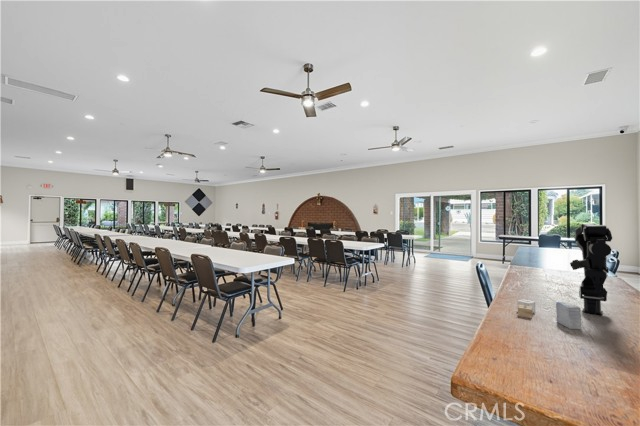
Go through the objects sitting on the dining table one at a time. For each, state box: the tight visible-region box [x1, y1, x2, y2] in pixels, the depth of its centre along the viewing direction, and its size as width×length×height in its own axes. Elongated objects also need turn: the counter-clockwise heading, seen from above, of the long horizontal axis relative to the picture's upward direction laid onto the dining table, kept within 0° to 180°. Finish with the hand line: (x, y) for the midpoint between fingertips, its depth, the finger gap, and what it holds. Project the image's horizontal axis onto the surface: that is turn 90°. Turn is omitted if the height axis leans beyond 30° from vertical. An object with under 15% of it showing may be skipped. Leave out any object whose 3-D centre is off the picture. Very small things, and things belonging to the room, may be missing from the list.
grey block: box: [517, 299, 536, 314], centre depth 131 cm, size 5×5×5 cm
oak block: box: [517, 305, 534, 319], centre depth 126 cm, size 5×5×4 cm
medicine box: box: [555, 301, 583, 331], centre depth 114 cm, size 8×4×9 cm, turn 168°
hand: (597, 291), depth 118 cm, fingers closed
